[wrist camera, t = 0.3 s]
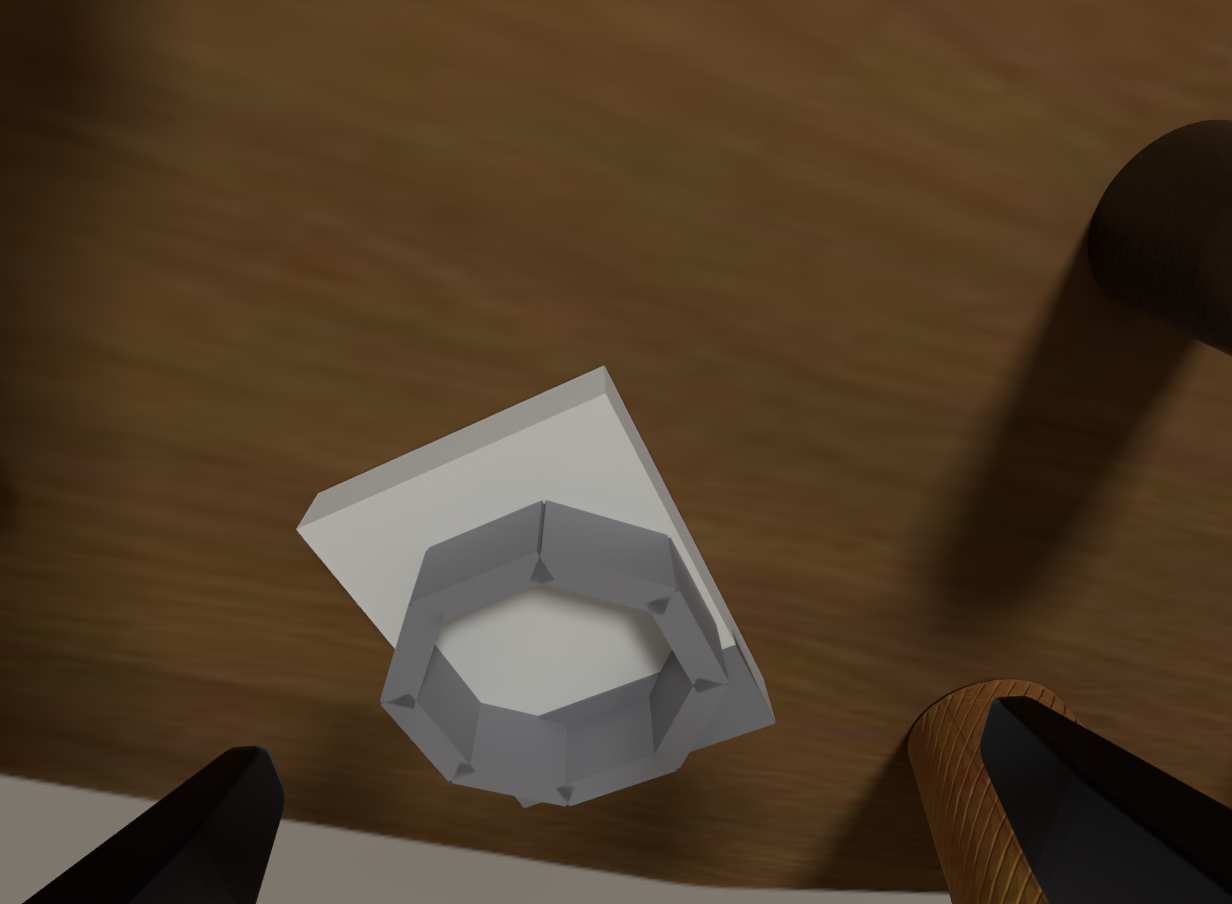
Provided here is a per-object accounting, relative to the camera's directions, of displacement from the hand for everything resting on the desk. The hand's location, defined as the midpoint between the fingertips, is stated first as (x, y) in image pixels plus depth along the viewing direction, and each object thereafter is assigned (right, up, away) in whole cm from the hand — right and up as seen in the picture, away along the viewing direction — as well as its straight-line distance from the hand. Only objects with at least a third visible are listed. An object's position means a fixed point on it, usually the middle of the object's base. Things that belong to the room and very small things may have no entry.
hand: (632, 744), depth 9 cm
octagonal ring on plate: (-2, -1, +16) cm, 17 cm away
